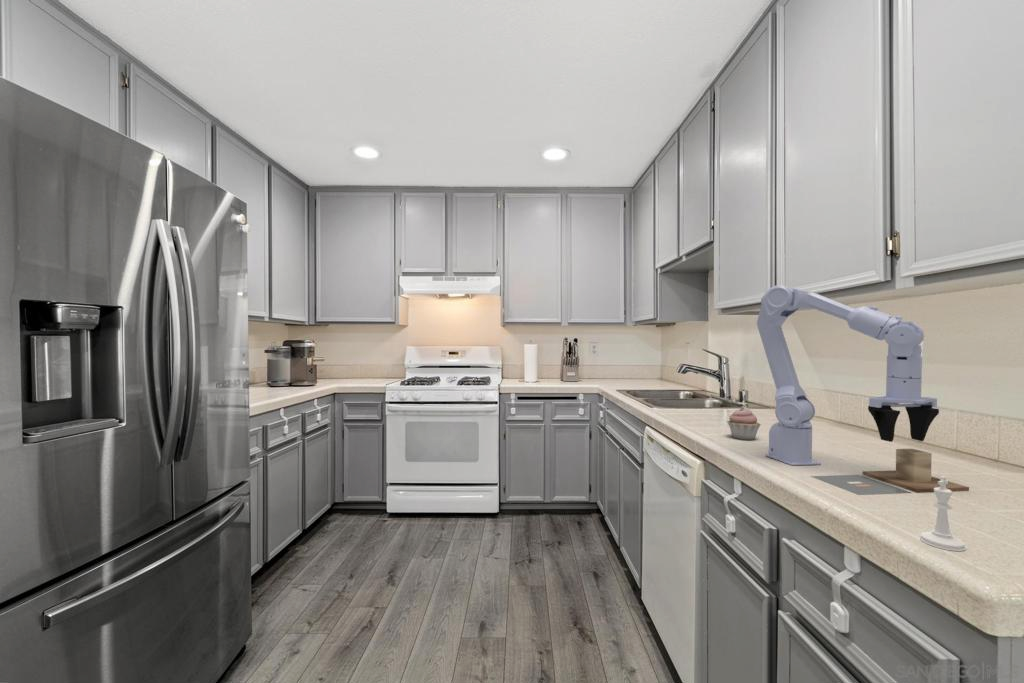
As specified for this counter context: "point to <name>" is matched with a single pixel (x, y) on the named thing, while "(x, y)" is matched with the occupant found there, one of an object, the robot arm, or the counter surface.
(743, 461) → the counter surface
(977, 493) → the counter surface
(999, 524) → the counter surface
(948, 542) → the chess piece
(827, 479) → the tile
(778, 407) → the robot arm
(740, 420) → the cupcake
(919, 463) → the maple block
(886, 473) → the board
